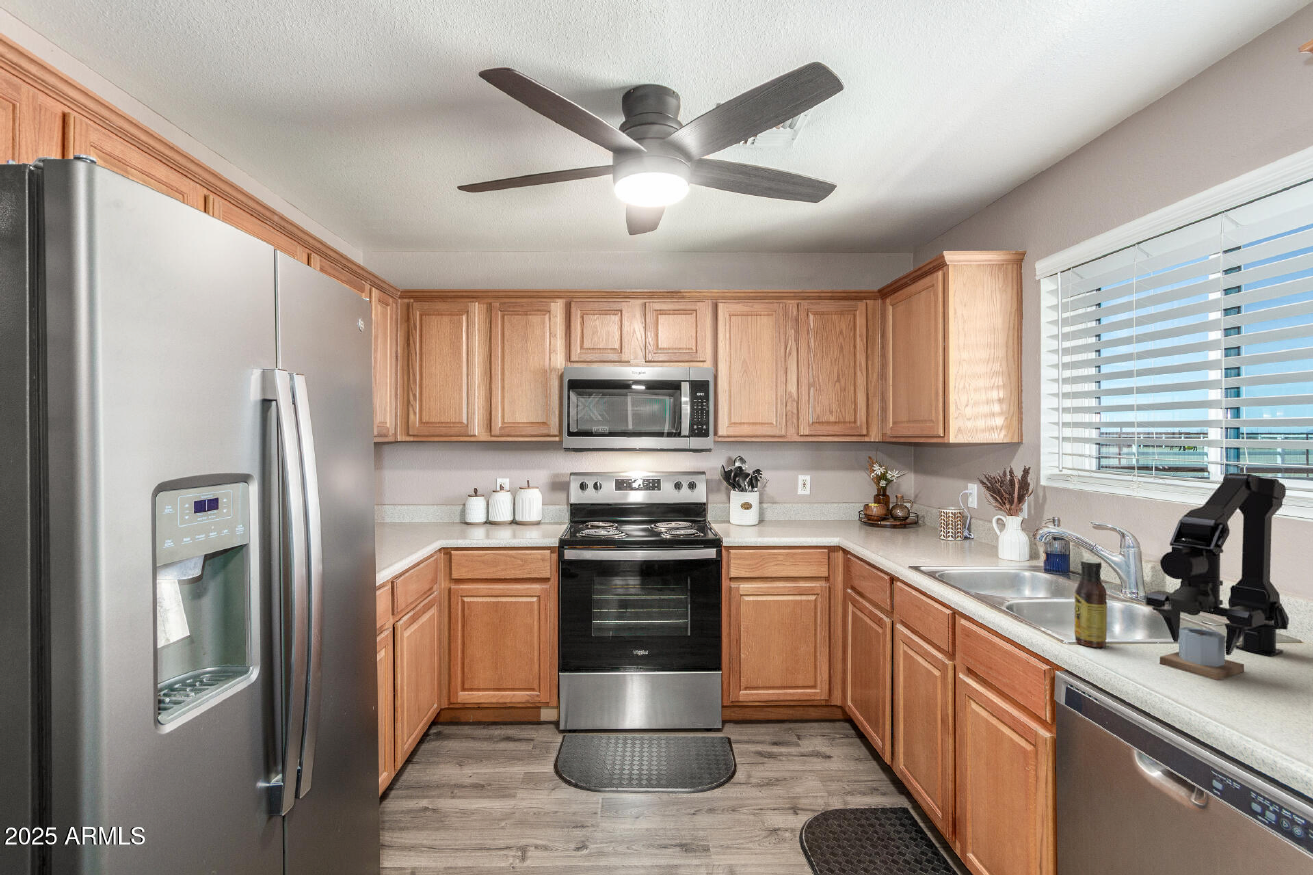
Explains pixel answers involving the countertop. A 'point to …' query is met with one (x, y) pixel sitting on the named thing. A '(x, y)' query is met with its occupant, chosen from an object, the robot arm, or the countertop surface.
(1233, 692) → the countertop surface
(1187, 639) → the blue roll
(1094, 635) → the sauce bottle
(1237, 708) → the countertop surface
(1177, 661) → the roll holder
